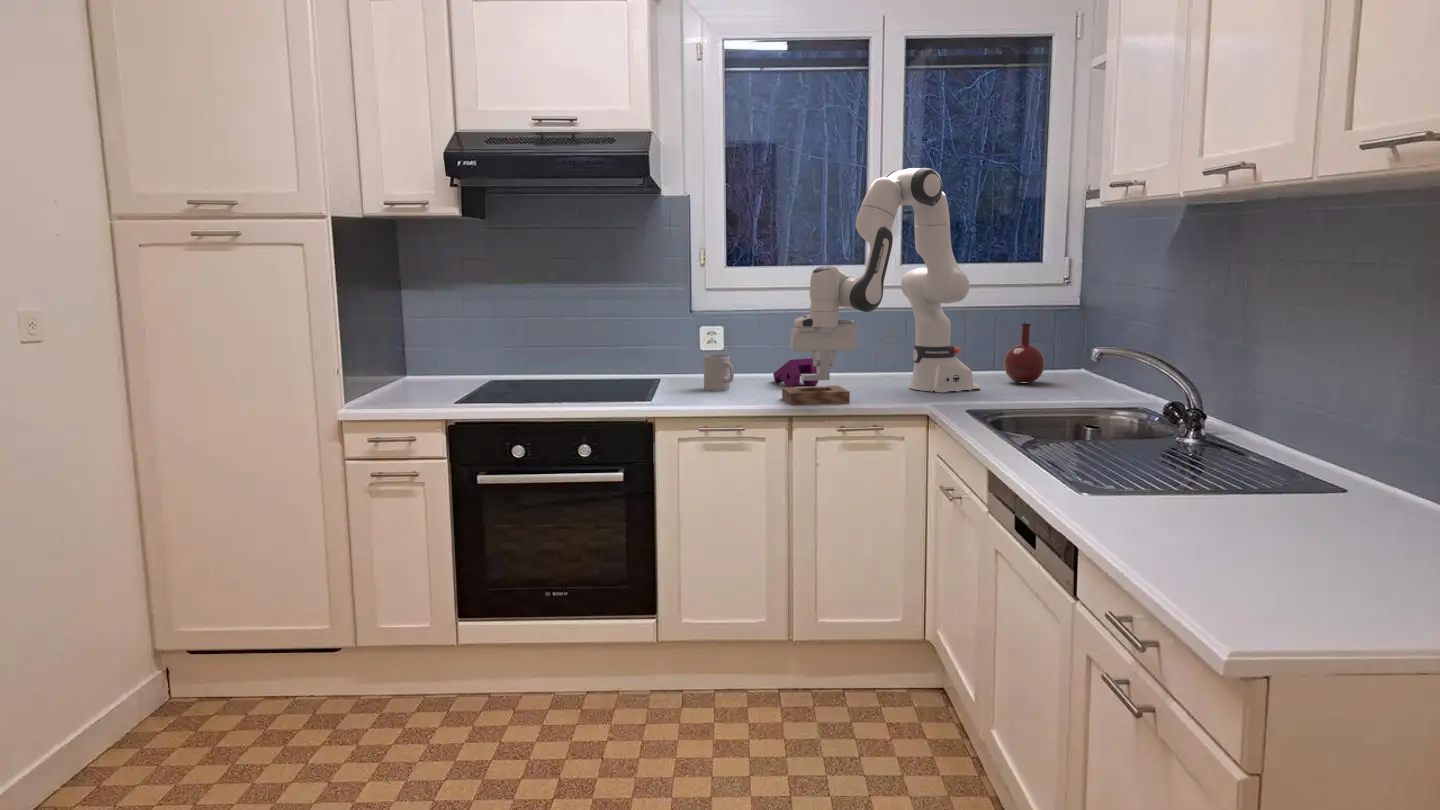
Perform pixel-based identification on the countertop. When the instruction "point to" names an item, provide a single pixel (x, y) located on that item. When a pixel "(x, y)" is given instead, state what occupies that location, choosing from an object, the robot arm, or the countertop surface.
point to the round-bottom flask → (1024, 360)
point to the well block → (815, 395)
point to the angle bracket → (820, 367)
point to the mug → (717, 372)
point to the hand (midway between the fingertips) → (823, 365)
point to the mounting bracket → (796, 372)
